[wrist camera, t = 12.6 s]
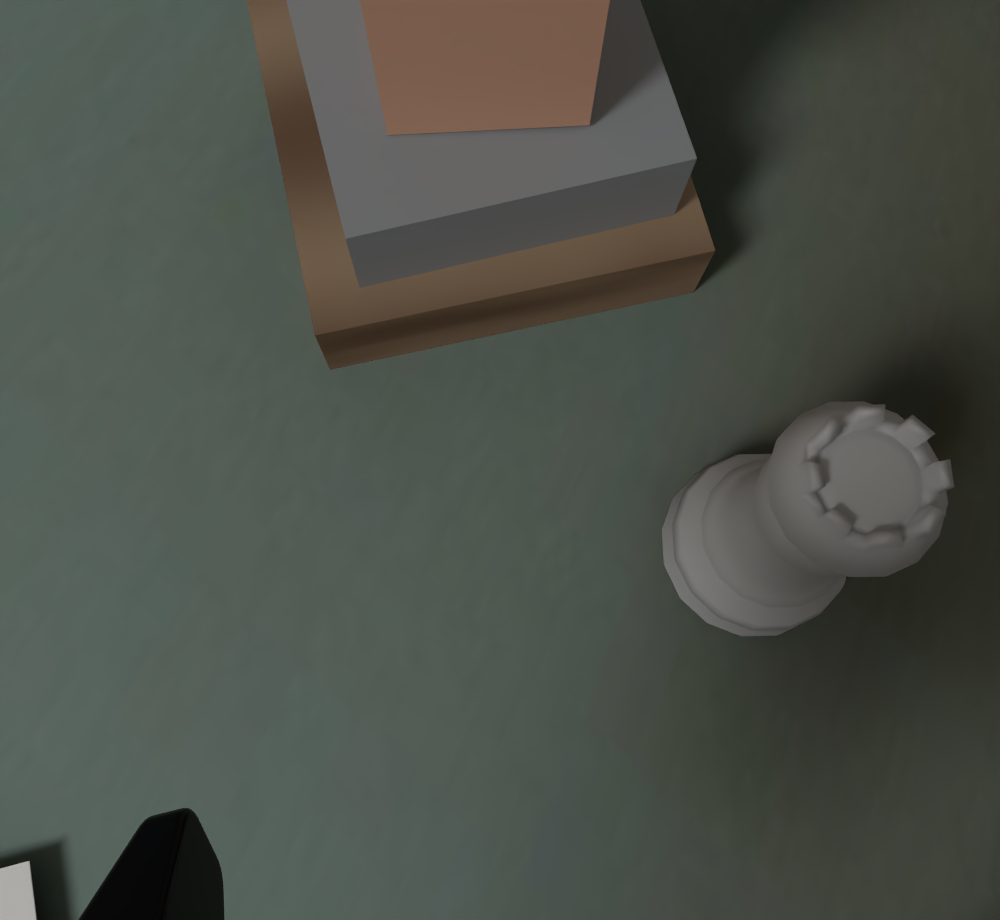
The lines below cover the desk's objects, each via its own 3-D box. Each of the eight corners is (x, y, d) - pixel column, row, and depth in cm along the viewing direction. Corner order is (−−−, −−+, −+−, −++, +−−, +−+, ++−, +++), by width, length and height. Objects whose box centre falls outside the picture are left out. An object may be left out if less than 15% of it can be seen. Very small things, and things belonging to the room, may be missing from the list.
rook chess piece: (758, 431, 24) (892, 304, 16) (869, 571, 23) (1066, 506, 16) (621, 527, 23) (695, 441, 16) (731, 675, 23) (866, 662, 15)
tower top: (673, 215, 23) (696, 158, 21) (359, 288, 22) (345, 238, 20) (584, -46, 25) (595, -125, 22) (291, 14, 24) (270, -61, 22)
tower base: (688, 301, 26) (715, 250, 23) (334, 377, 25) (315, 335, 22) (595, 5, 28) (609, -76, 25) (269, 65, 27) (245, -10, 24)
